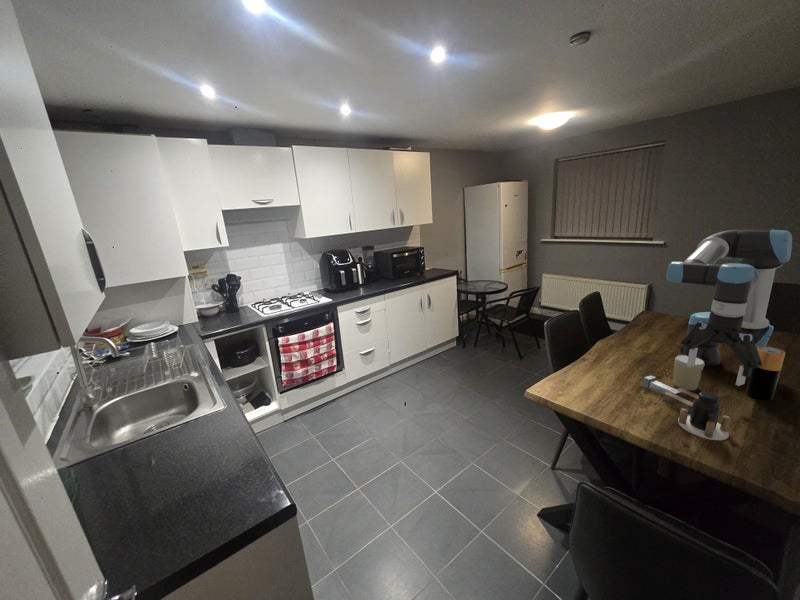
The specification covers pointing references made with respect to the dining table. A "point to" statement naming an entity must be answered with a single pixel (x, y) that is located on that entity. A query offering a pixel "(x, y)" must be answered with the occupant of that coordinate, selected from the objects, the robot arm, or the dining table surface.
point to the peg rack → (709, 432)
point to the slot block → (681, 399)
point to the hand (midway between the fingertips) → (713, 374)
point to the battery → (766, 373)
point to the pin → (658, 386)
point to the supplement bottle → (705, 410)
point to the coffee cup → (687, 373)
